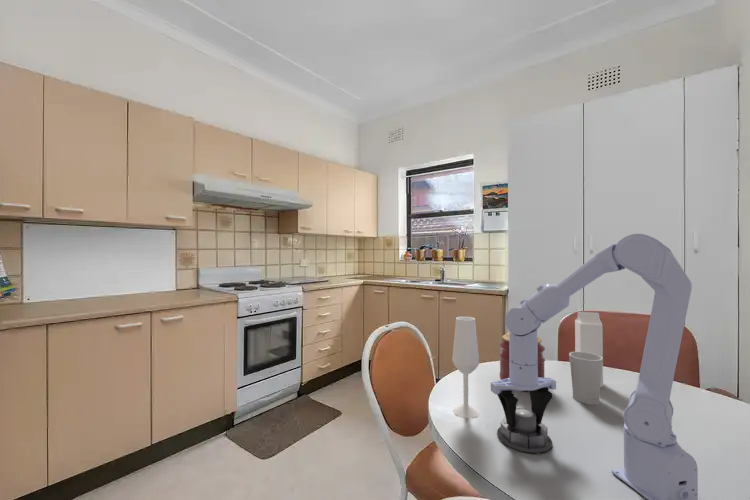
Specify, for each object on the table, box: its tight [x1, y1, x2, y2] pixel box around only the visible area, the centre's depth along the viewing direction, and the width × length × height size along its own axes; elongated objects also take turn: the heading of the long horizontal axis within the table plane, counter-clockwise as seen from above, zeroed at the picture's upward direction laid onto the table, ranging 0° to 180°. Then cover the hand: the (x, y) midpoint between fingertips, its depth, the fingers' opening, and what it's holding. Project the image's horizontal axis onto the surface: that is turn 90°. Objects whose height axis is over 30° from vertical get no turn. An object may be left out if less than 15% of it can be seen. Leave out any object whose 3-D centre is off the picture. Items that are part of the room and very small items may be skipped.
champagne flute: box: [451, 316, 480, 419], centre depth 86 cm, size 7×7×24 cm
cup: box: [568, 351, 604, 405], centre depth 93 cm, size 8×8×12 cm
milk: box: [574, 311, 604, 388], centre depth 105 cm, size 6×6×22 cm
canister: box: [498, 331, 546, 392], centre depth 104 cm, size 13×13×18 cm
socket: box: [496, 416, 553, 455], centre depth 74 cm, size 11×11×3 cm
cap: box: [511, 407, 536, 434], centre depth 74 cm, size 5×5×5 cm
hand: (523, 423), depth 74 cm, fingers open, 6 cm apart
